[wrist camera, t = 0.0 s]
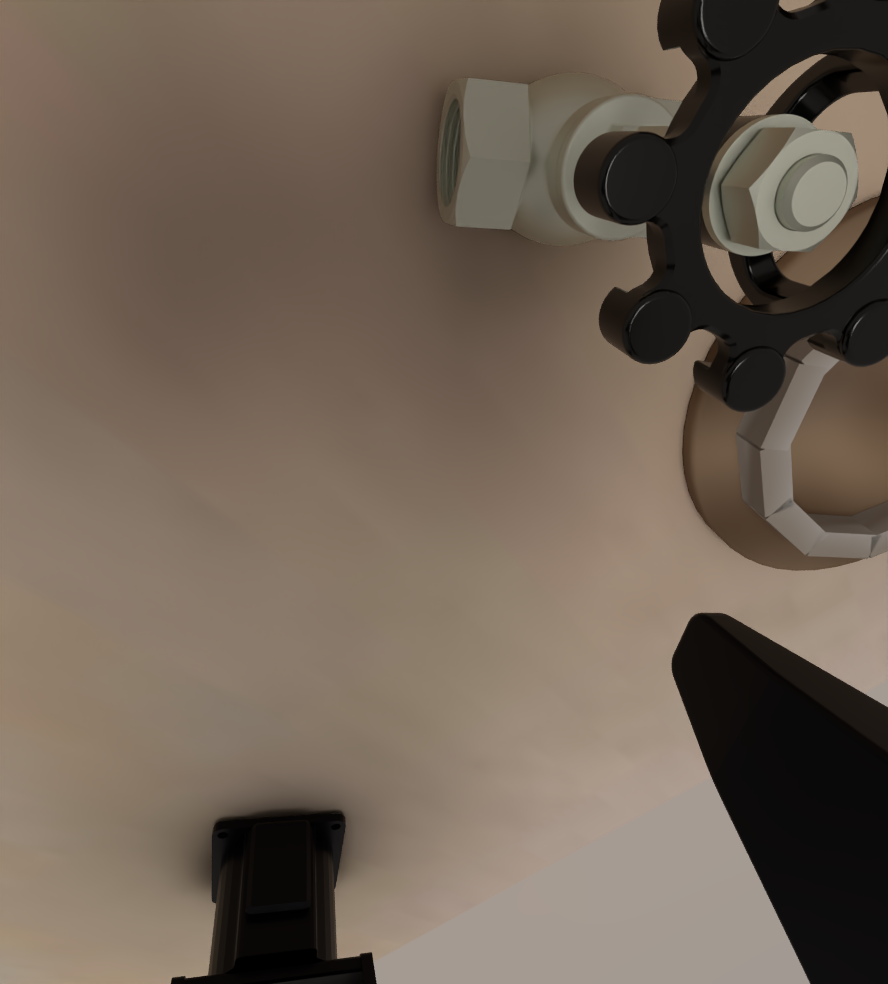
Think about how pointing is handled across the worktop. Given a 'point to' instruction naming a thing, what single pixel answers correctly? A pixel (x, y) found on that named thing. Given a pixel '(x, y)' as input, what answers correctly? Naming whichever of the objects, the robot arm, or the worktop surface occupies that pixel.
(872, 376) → the collar base
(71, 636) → the worktop surface
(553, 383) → the worktop surface
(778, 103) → the valve
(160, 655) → the worktop surface
